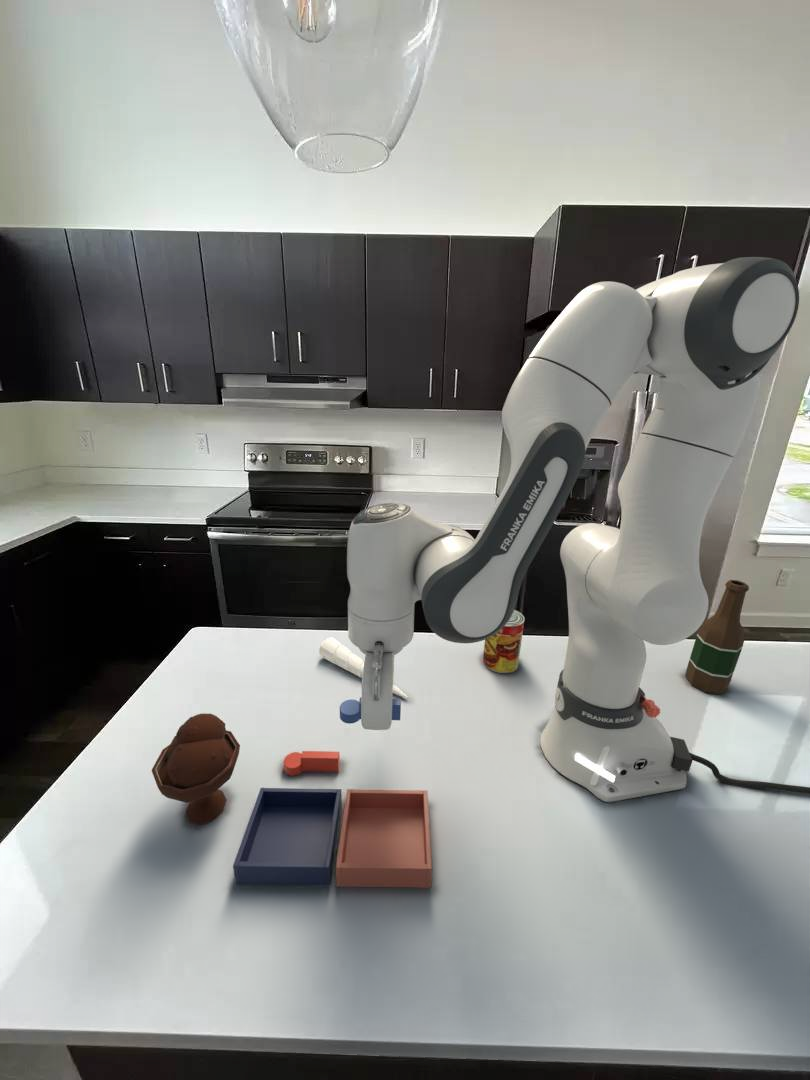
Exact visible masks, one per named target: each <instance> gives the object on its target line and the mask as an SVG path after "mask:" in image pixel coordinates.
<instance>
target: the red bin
mask: <svg viewBox="0 0 810 1080" xmlns="http://www.w3.org/2000/svg"><path fill="white" fill-rule="evenodd" d="M429 812H430V811H429V795H428V790H423V789H422V790H419V789H418V790H417V789H416V790H415V789H412V790H411V789H410V790H409V789H357V788H356V789H355V788H354V789H353V788H351V789H350V788H348V789H346V793H345V800H344V807H343V815H342V822H341V830H340V835H339V836H340V837H339V842H338V843H339V844H338V850H337V857H336V865H335V872H336V873H335V877H336V887H353V888H354V887H355V888H357V887H359V888H427V889H429V888H431V886H432V871H433V866H432V865H433V864H432V846H431V831H430V814H429Z"/></svg>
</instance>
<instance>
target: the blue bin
mask: <svg viewBox="0 0 810 1080" xmlns="http://www.w3.org/2000/svg"><path fill="white" fill-rule="evenodd" d="M342 794H343V793H342V788H296V787H295V788H294V787H293V788H289V787H288V788H287V787H260V788H259V791H258V795H257V797H256V799H255V803H254V805H253V808H252V811H251V814H250V816H249V819H248V822H247V825H246V828H245V830H244V834H243V837H242V839H241V842H240V845H239V848H238V851H237V854H236V857H235V859H234V862H233V865H232V869H233V875H234V882H235V885H236V886H273V887H274V886H275V887H276V886H280V887H281V886H282V887H285V886H286V887H295V886H296V887H331V884H332V878H333V871H334V866H335V865H334V863H335V858H336V850H337V843H338V837H339V830H340V823H341V816H342V809H343V797H342Z"/></svg>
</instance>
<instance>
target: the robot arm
mask: <svg viewBox="0 0 810 1080" xmlns="http://www.w3.org/2000/svg"><path fill="white" fill-rule="evenodd" d="M798 285H799V284H798V282H797V279H796V275H795V273H794V271H793V270H792V268H791V267H790V266H789V265H788V263H786V262H784V261H783V260H780V259H776V258H773V257H763V256H747V257H746V256H745V257H736V258H732V259H730V260H727V261H725V262H721V263H712V264H711V263H710V264H705V265H700V266H694V267H690V268H686V269H683V270H679V271H677V272H674V273H673V274H670V275H667V276H665V277H662V278H659V279H656V280H654V281H651V282H649V283H641V284H638V285H635V286H633V287H631V286H629V285H627V284H625V283H622V282H618V281H610V280H609V281H608V280H607V281H598V282H595V283H592V284H590V285H588V286H586V287H585V288H583V289H582V290H580V292H578V293H577V294H576V295H575V296H574V298H573V299H571V301H570V302H569V303H568V304H567V305H566V306H565V308H564V309H563V310H562V311H561V312H560V314H558V316H557V317H556V319H554V321H553V322H552V323H551V324H550V326H549V327H548V329H547V330H546V331H545V333H544V334H543V335H542V337H541V338H540V339H539V341H538V343H537V344H536V345H535V347H534V348H533V350H532V351H531V353H530V354H529V356H528V358H527V360H526V361H525V362H524V364H523V365H522V367H521V368H520V371H519V372H518V374H517V375H516V377H515V379H514V381H513V383H512V385H511V387H510V389H509V392H508V393H507V396H506V399H505V401H504V403H503V407H502V410H501V422H502V427H503V432H504V434H505V436H506V439H507V441H508V444H509V449H510V457H511V459H510V460H511V461H510V468H509V474H508V477H507V480H506V483H505V485H504V487H503V489H502V491H501V492H500V494H499V496H498V498H497V500H496V501H495V503H494V505H493V507H492V508H491V510H490V512H489V514H488V516H487V518H486V520H485V521H484V523H483V525H482V527H481V528H480V530H479V532H478V534H477V536H476V537H475V538H474V537H473V536H472V535H471V534H470V533H469V532H467V531H466V530H465V529H463V528H462V527H459V526H456V525H453V524H452V525H451V524H445V523H441V522H438V521H435V520H432V519H430V518H428V517H425V516H424V515H422V514H420V513H418V511H416V510H414V509H413V508H412V507H411V506H410V505H408V504H406V503H401V502H384V503H383V502H382V503H378V504H373V505H371V506H369V507H366V508H365V509H363V510H361V511H359V512H358V513H357V514H356V515H355V516H354V518H353V519H352V521H351V524H350V526H349V530H348V535H347V536H348V537H347V547H346V576H347V580H348V583H349V587H350V589H349V594H348V595H349V596H348V599H347V631H348V632H347V637H348V639H349V641H350V642H351V643H352V644H353V646H355V647H357V648H358V650H359V652H361V653H362V654H364V660H363V661H364V668H363V674H362V678H361V693H360V694H361V719H360V723H361V726H362V728H363V729H364V730H369V731H386V730H389V729H390V728H391V726H392V721H393V720H392V701H393V698H394V693H393V684H394V675H395V673H394V672H395V656H396V655H397V654H399V653H400V652H401V651H402V650H403V649H404V648H405V647H406V646H408V645H409V644H410V643H411V642H412V640H413V638H414V635H415V634H414V632H415V631H414V630H415V605H416V604H415V603H416V602H418V601H421V604H422V610H423V614H424V618H425V622H426V624H427V626H428V628H429V629H430V630H431V631H432V632H433V633H434V634H435V635H436V636H437V637H439V638H441V639H443V640H445V641H448V642H451V643H454V644H456V643H457V644H473V643H479V642H482V641H485V639H487V638H489V637H491V636H493V635H495V634H496V633H497V632H499V631H500V630H501V629H502V628H503V627H504V626H505V625H506V623H507V622H508V621H509V619H510V618H511V616H512V614H513V612H514V610H516V606H517V602H518V598H519V594H520V589H521V586H522V583H523V581H524V578H525V575H526V573H527V571H528V569H529V568H530V566H531V563H532V562H533V560H534V558H535V557H536V555H537V553H538V551H539V550H540V548H541V546H542V544H543V542H544V541H545V538H546V537H547V535H548V533H549V531H550V530H551V529H552V526H553V524H554V523H555V521H556V519H557V518H558V515H559V514H560V512H561V511H562V509H563V506H564V505H565V503H566V501H567V499H568V498H569V496H570V494H571V492H572V490H573V488H574V486H575V484H576V482H577V480H578V478H579V476H580V473H581V471H582V468H583V466H584V462H585V458H586V453H587V448H588V446H589V444H590V441H591V439H592V437H593V435H594V434H595V432H596V430H597V428H598V426H599V425H600V424H601V422H602V420H603V419H604V417H605V416H606V414H607V412H608V411H609V409H610V408H611V407H612V405H613V404H614V403H615V400H616V399H617V397H618V396H619V395H620V393H621V391H622V389H623V388H624V386H625V384H626V383H627V382H628V380H629V379H630V378H631V377H632V376H633V375H636V374H642V375H643V374H644V375H649V376H659V377H658V382H659V388H658V389H659V391H658V398H657V401H656V402H655V404H654V406H653V408H652V409H651V412H650V414H649V415H648V418H647V420H646V421H645V423H644V426H643V428H642V430H641V432H640V434H639V437H638V439H637V441H636V443H635V446H634V448H633V449H632V451H631V454H630V457H629V459H628V461H627V463H626V465H625V468H624V470H623V473H622V475H621V477H620V480H619V482H618V484H617V485H618V486H617V496H618V499H619V503H620V510H621V511H620V512H621V515H620V517H621V518H620V519H621V520H620V525H619V528H618V527H614V526H612V525H607V524H602V523H598V522H597V523H596V522H587V523H583V524H580V525H578V526H576V527H574V528H573V529H571V530H570V531H569V533H567V534H566V535H565V537H564V539H563V541H562V542H561V546H560V549H559V551H560V552H559V556H560V561H561V564H562V567H563V571H564V576H565V584H566V585H565V586H566V599H567V612H568V613H567V615H568V637H567V638H568V639H567V645H566V650H565V659H564V663H563V669H561V671H560V674H559V675H558V676H559V677H558V681H557V686H556V689H555V694H554V707H553V709H552V713H551V716H550V718H549V721H548V722H547V724H546V726H545V727H544V729H543V730H542V732H541V734H540V743H539V744H540V748H541V751H542V754H543V755H544V757H545V758H546V760H547V762H548V763H549V764H550V765H551V767H553V768H554V769H555V770H556V771H557V772H559V774H561V775H563V776H564V777H565V778H567V779H568V780H570V781H572V782H573V783H576V784H578V785H580V786H582V787H584V788H586V790H587V791H589V792H591V793H592V794H593V795H594V796H595V797H596V798H598V799H600V800H601V801H602V802H605V803H612V802H619V801H624V800H629V799H634V798H639V797H646V796H651V795H657V794H662V793H668V792H672V791H673V792H674V791H677V790H683V789H686V786H687V773H686V772H690V770H691V767H692V765H693V762H696V763H699V764H701V765H703V766H705V767H707V768H709V769H710V770H711V772H712V775H713V777H714V778H715V779H716V780H718V781H720V782H722V783H723V784H727V785H731V786H735V787H742V788H750V789H751V788H752V789H765V790H773V791H780V792H781V791H782V792H788V793H791V792H792V793H799V794H807V795H810V787H809V786H801V785H791V784H784V783H778V782H777V783H776V782H768V781H757V780H743V779H742V780H741V779H734V778H731V777H727V776H725V775H723V774H721V773H720V770H719V769H718V767H717V766H716V764H714V763H713V762H712V761H710V760H708V759H707V758H704V757H702V756H699V755H697V754H694V753H692V752H690V751H689V748H688V746H687V743H686V741H685V739H682V738H678V737H674V736H670V735H669V732H668V731H667V730H666V727H665V726H664V725H663V723H662V722H661V721H660V720H659V719H658V718H657V717H658V716H660V714H661V709H660V708H659V706H658V705H657V704H656V703H655V701H654V700H653V699H647V697H646V693H645V692H644V690H643V689H642V688H641V687H640V685H641V681H642V678H643V677H642V676H643V673H644V670H645V666H646V662H647V649H646V644H645V642H646V643H649V644H650V645H654V646H655V645H656V646H669V645H673V644H676V643H680V642H682V641H684V640H687V639H688V638H689V637H691V636H693V634H694V633H696V632H698V631H699V629H700V626H701V625H702V624H703V623H704V622H705V621H706V617H707V614H708V610H709V597H708V596H709V595H708V593H707V590H706V588H705V586H704V583H703V579H702V575H701V569H700V547H701V538H702V532H703V527H704V523H705V520H706V517H707V514H708V512H709V508H710V506H711V504H712V502H713V501H714V498H715V496H716V493H717V491H718V489H719V487H720V486H721V483H722V482H723V479H724V477H725V475H726V473H727V471H728V470H729V467H730V466H731V464H732V462H733V460H734V457H735V456H736V453H737V452H738V449H739V448H740V446H741V443H742V441H743V440H744V437H745V434H746V432H747V430H748V427H749V424H750V422H751V419H752V416H753V414H754V410H755V407H756V403H757V402H758V397H759V393H760V389H761V383H762V382H761V376H760V374H759V373H760V372H761V371H762V370H763V369H764V367H766V365H767V364H768V363H769V361H770V360H771V359H772V357H773V356H774V355H775V354H776V353H777V352H778V350H779V349H780V347H781V346H782V344H783V343H784V342H785V340H786V338H787V336H788V335H789V333H790V331H791V329H792V327H793V325H794V323H795V320H796V318H797V315H798V311H799V305H800V289H799V286H798Z"/></svg>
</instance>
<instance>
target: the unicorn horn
mask: <svg viewBox="0 0 810 1080" xmlns="http://www.w3.org/2000/svg"><path fill="white" fill-rule="evenodd" d="M318 653H319V656H320V657H321V658H323V659H325V660H326V661H328V662H330V663H332V664H333V665H336V666H337V667H340V668H341V669H344V670H346V671H347V672H349V673H351V674H354V675H355V676H357V677H359V678H361V679H362V674H363V668H364V661H365V660H364V659H362V658H361V657H360V656H358V655H357V654H355V653H354V652H353V651H351V650H350V649H349V648H348V647H346V646H345V645H343V643H341V642H340V641H338V640H337V639H336V638H335V637H332V636H331V637H327V638H326V639H324V640H323V641H322V642H321V644H320V646H319V649H318ZM393 695H396V696H399V697H401V698H404V699H409V696H408V695H407V694H406V693H405V692H404V691H402V690H401V689H400V688H399V687H398V686H397V685H395V684H394V683H393Z"/></svg>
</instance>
